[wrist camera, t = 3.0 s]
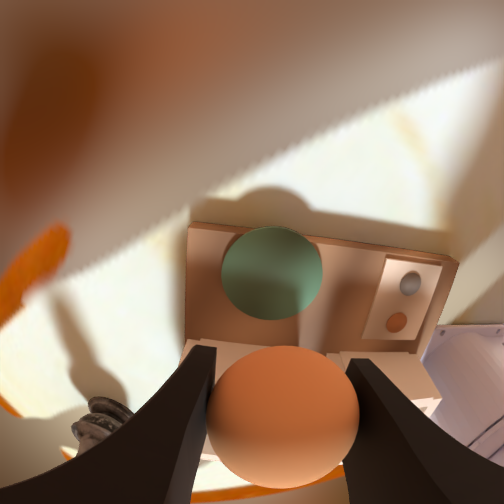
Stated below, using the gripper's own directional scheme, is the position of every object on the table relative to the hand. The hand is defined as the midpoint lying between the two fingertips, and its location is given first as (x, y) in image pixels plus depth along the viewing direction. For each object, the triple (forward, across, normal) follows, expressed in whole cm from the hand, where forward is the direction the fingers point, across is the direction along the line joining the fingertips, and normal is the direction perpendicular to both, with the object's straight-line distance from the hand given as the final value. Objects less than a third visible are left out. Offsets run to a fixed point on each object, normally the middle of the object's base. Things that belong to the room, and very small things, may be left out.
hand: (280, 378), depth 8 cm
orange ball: (0, 0, 0) cm, 0 cm away
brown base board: (+9, -4, +4) cm, 10 cm away
